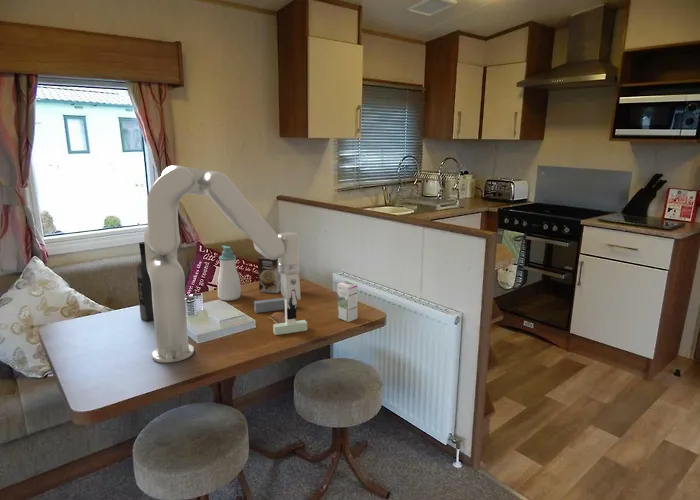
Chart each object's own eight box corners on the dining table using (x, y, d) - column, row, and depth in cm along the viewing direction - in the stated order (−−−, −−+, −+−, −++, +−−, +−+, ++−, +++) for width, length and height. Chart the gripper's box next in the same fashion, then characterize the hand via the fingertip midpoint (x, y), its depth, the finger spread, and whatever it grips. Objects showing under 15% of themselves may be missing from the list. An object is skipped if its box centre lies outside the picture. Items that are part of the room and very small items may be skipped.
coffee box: (258, 292, 208) (257, 258, 204) (263, 288, 214) (262, 254, 210) (277, 293, 206) (276, 259, 203) (282, 289, 213) (281, 255, 209)
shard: (279, 328, 169) (279, 323, 168) (261, 325, 171) (261, 321, 170) (291, 317, 179) (291, 313, 178) (273, 315, 181) (273, 311, 181)
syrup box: (357, 318, 178) (358, 283, 174) (347, 322, 173) (348, 286, 170) (347, 314, 181) (347, 280, 178) (337, 318, 177) (337, 283, 174)
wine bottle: (147, 322, 172) (140, 244, 165) (139, 318, 175) (132, 242, 168) (161, 317, 176) (154, 242, 169) (153, 314, 179) (146, 240, 173)
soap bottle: (234, 292, 207) (231, 243, 202) (245, 297, 200) (242, 247, 195) (214, 297, 201) (211, 246, 195) (224, 302, 194) (221, 250, 188)
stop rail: (294, 307, 188) (294, 298, 187) (255, 312, 182) (255, 303, 181) (292, 305, 191) (292, 296, 190) (254, 310, 185) (254, 301, 184)
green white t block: (304, 327, 169) (304, 294, 166) (307, 330, 166) (307, 296, 163) (273, 332, 164) (272, 297, 161) (275, 335, 162) (274, 300, 159)
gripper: (306, 272, 154) (307, 323, 158) (292, 261, 169) (293, 307, 173) (284, 274, 151) (285, 326, 155) (273, 262, 166) (274, 310, 170)
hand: (290, 316), depth 164 cm, fingers open, 3 cm apart
